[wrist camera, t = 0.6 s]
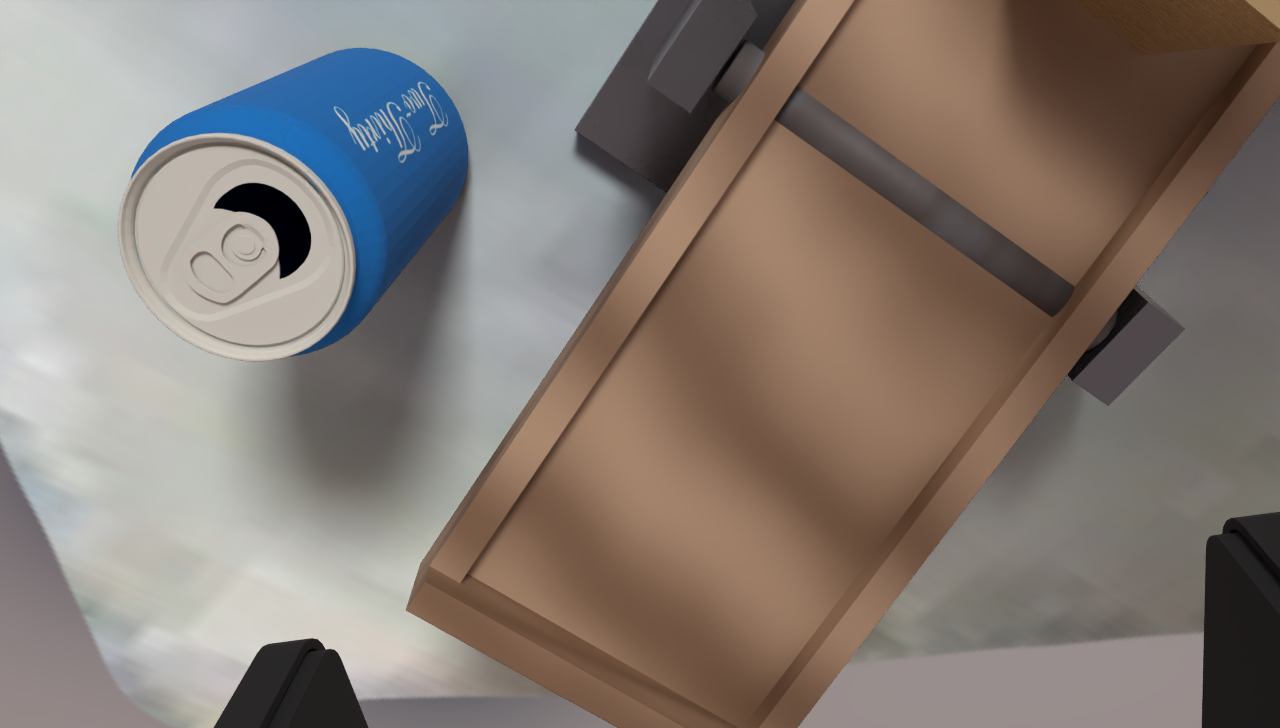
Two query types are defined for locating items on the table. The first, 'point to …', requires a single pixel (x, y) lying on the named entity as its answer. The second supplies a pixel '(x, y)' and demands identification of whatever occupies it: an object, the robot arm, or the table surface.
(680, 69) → the beam stand
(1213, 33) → the rider
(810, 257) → the beam
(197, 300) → the beverage can
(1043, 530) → the table surface
